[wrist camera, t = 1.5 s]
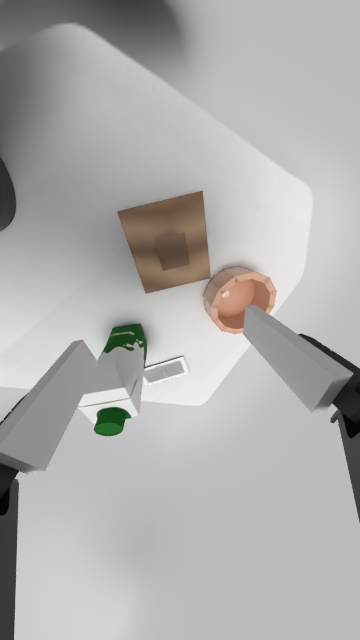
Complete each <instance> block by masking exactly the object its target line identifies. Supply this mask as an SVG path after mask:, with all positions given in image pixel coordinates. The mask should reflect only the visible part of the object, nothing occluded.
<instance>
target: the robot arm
mask: <svg viewBox="0 0 360 640" xmlns="http://www.w3.org/2000/svg"><path fill="white" fill-rule="evenodd" d="M14 211H15V196H14V191H13V187H12V183H11V180H10V178H9V175H8V173H7V171H6V168H5V167H4V165H3V163H2V161H1V159H0V231H1V230H2V229H4V228H5V227H6V226H7V225H8V224H9V223H10V222H11V220H12V218H13V215H14ZM243 334H244V335H245V337H246V338H247V339H248V340H249V341H250V342H251V344H252V345H253V346H254V347H255V348H256V349H257V350H258V352H259V353H260V354H261V355H262V356H263V357H264V359H265V360H266V361H267V362H268V363H269V364H270V365H271V366H272V368H273V369H274V370H275V371H276V372H277V374H278V375H279V376H280V377H281V378H282V379H283V381H284V382H285V383H286V384H287V385H288V386H289V387H290V389H291V390H292V391H293V392H294V393H295V394H296V396H297V397H298V398H299V399H300V400H301V401H302V403H303V404H304V405H305V406H306V407H307V408H308V409H309V411H310V412H311V413H315V412H320V411H325V410H327V409H328V408H329V406H330V405H331V404H334V405H335V406H336V407H337V408H338V410H337V411H336V412H335V413H334V415H333V416H332V417H331V421H330V422H331V423H334V422H335V421H336V420H337V419H338V423H339V427H340V432H341V437H342V441H343V446H344V451H345V456H346V460H347V465H348V470H349V474H350V479H351V484H352V488H353V493H354V498H355V502H356V507H357V512H358V516H359V521H360V369H359V368H358V367H357V366H355V365H353V364H352V363H350V362H349V361H347V360H346V359H344V358H343V357H341V356H340V355H338V354H337V353H335V352H333V351H331V350H330V349H329V348H327V347H326V346H323V345H322V344H321V343H320V342H318V341H317V340H315V339H313V338H311V337H309V336H306V335H304V334H296V333H295V332H293V331H292V330H290V329H289V328H288V327H286V326H285V325H283V324H282V323H280V322H279V321H278V320H276V319H275V318H273V317H272V316H270V315H269V314H268V313H266V312H265V311H263V310H262V309H260V308H259V307H257V306H256V305H250V306H246V307H245V318H244V330H243ZM98 365H99V363H98V362H97V360H96V359H95V357H94V356H93V354H92V353H91V351H90V350H89V348H88V347H87V345H86V344H85V342H84V341H83V340H79V341H74V342H72V343H71V345H70V346H69V347H68V348H67V349H66V350H65V352H64V353H63V354H62V355H61V356H60V357H59V358H58V360H57V361H56V362H55V363H54V364H53V365H52V366H51V368H50V369H49V370H48V371H47V372H46V373H45V375H44V376H43V377H42V378H41V379H40V380H39V381H38V383H37V384H36V385H35V386H34V387H33V388H32V390H31V391H30V392H29V393H28V394H27V395H25V396H24V397H23V398H22V399H21V400H20V401H19V402H18V403H17V404H16V405H15V406H14V408H13V409H12V411H11V412H9V413H8V414H7V416H6V417H5V418H4V420H3V421H1V422H0V640H14V620H15V587H16V555H17V554H16V553H17V522H18V521H17V520H18V490H19V483H18V480H17V479H14V478H15V477H16V475H17V473H18V472H19V471H20V472H23V473H26V474H34V473H39V472H43V471H45V469H46V468H47V465H48V464H49V462H50V460H51V458H52V456H53V454H54V452H55V450H56V448H57V446H58V444H59V442H60V440H61V438H62V436H63V434H64V432H65V430H66V428H67V426H68V424H69V422H70V420H71V418H72V416H73V414H74V412H75V410H76V408H77V406H78V404H79V402H80V400H81V398H82V396H83V394H84V392H85V390H86V388H87V386H88V384H89V382H90V380H91V379H92V377H93V375H94V373H95V371H96V369H97V367H98Z"/></svg>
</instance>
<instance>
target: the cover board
mask: <svg viewBox="0 0 360 640" xmlns="http://www.w3.org/2000/svg"><path fill="white" fill-rule="evenodd" d="M118 215H119V218H120V221H121V224H122V227H123V230H124V232H125V235H126V238H127V241H128V244H129V247H130V250H131V253H132V255H133V258H134V261H135V264H136V267H137V270H138V273H139V275H140V278H141V281H142V284H143V287H144V290H145V293H150V292H154V291H159V290H163V289H167V288H171V287H175V286H179V285H184V284H188V283H192V282H196V281H200V280H205V279H209V278H210V267H209V256H208V245H207V234H206V223H205V213H204V202H203V191H200V192H196V193H192V194H188V195H184V196H179V197H175V198H171V199H167V200H163V201H159V202H155V203H151V204H147V205H143V206H138V207H134V208H130V209H126V210H122V211H118Z"/></svg>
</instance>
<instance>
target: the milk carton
mask: <svg viewBox="0 0 360 640" xmlns="http://www.w3.org/2000/svg"><path fill="white" fill-rule="evenodd" d="M146 354H147V344H146V341H145V338H144V334H143V331H142V328H141V324H138V325H132V326H125V327H119V328H113V329H112V332H111V334H110V337H109V339H108V342H107V344H106V346H105V348H104V350H103V352H102V353H101V355H100V357H99V359H98V361H97V362H98V363H99V365H98V367H97V369H96V371H95V373H94V375H93V377H92V379H91V380H90V382H89V384H88V386H87V388H86V390H85V392H84V394H83V396H82V398H81V400H80V402H79V404H78V406H79V409H80V410H81V411H82V412H83V413H84V414H85V415H86V416H87V417H88V418H89V419H90V420H91V421H92V422H93V423H94V424H96V425H95V427H94V431H95V432H96V433H97V434H99V435H103V436H113V435H117V434H119V433H121V432H122V430H123V427H124V422H125V419H127V418H132V417H136V416H139V409H140V400H141V390H142V383H143V376H144V369H145V361H146Z"/></svg>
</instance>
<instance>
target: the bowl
mask: <svg viewBox="0 0 360 640" xmlns="http://www.w3.org/2000/svg"><path fill="white" fill-rule="evenodd" d="M275 297H276V289H275V287H274V285H273V283H272V281H271V279H270V277H267V276H264V275H262V274H259V273H256V272H254V271H251V270H248V269H245V268H242V267H239V266H238V267H233V268H228V269H225V270H222V271H221V272H219V273H218V274H217V275H215V276H214V277H213V278H212V280H211V281H210V282H209V284H208V285H207V287H206V290H205V293H204V305H205V310H206V311H207V313H208V314H209V316H210V318H211V319H212V321H213V322H214V323H215V324H216V325H217V326H218V327H219V329H220V330H221V331H224V332H229V333H233V334H237V333H241V332H243V330H244V318H245V307H246V306H250V305H256V306H257V307H259V308H260V309H262V310H263V311H265V312H266V313H268V314H269V313H270V312H271V310H272V309H273V307H274V303H275Z"/></svg>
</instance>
